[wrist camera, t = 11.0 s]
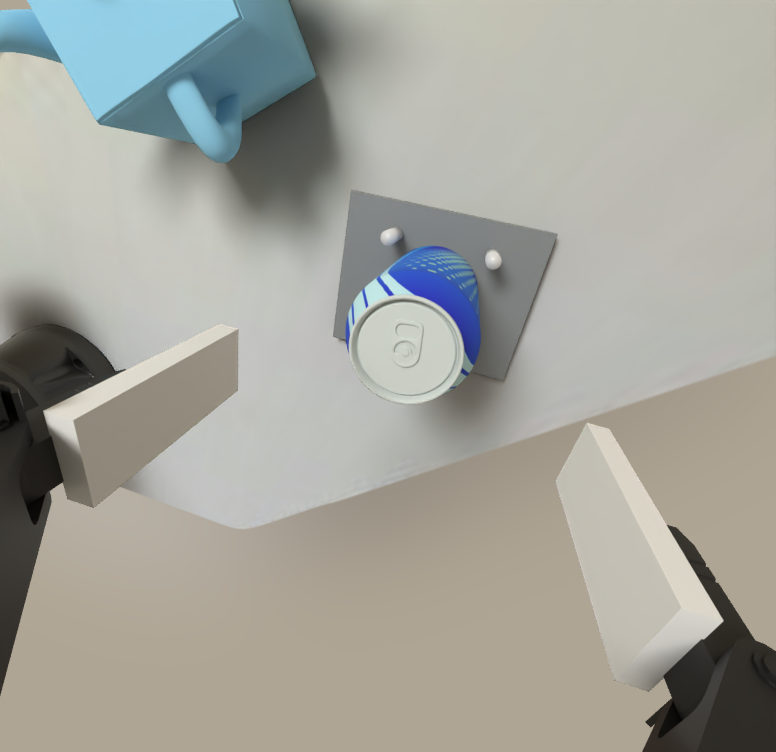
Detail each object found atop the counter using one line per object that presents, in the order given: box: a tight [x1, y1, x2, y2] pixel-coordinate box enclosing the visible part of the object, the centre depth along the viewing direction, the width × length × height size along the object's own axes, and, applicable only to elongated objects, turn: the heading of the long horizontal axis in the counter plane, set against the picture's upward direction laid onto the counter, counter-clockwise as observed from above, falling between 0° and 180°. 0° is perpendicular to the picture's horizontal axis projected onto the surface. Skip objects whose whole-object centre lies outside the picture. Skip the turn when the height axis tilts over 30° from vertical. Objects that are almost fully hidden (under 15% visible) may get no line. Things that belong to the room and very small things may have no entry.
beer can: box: [345, 246, 481, 404], centre depth 28 cm, size 8×8×16 cm
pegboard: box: [333, 190, 557, 380], centre depth 34 cm, size 18×14×5 cm
